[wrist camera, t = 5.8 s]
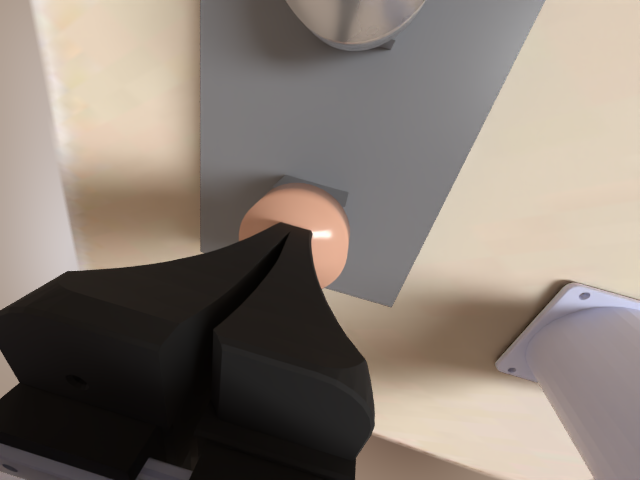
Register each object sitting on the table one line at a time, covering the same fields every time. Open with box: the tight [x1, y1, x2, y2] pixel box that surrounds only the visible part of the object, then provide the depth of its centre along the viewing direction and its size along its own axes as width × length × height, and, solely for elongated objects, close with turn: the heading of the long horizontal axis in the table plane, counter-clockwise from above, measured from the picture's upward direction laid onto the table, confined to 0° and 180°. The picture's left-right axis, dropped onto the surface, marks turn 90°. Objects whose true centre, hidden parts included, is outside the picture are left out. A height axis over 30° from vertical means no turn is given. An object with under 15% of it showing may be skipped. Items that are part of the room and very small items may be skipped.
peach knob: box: [239, 183, 350, 289], centre depth 13 cm, size 4×4×6 cm
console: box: [200, 0, 545, 307], centre depth 12 cm, size 12×18×4 cm, turn 167°
